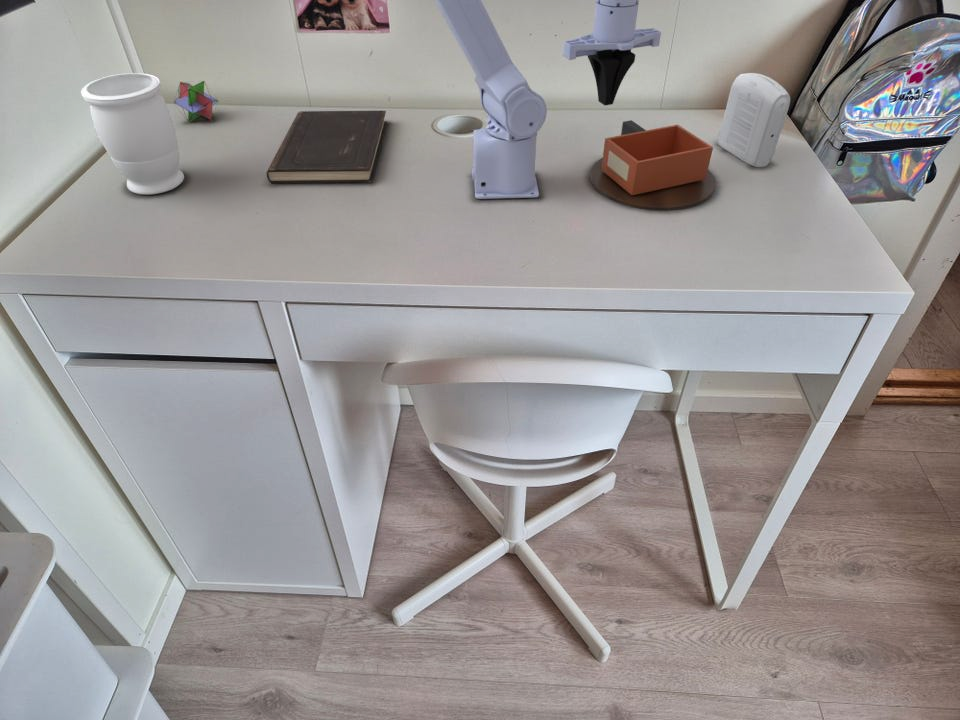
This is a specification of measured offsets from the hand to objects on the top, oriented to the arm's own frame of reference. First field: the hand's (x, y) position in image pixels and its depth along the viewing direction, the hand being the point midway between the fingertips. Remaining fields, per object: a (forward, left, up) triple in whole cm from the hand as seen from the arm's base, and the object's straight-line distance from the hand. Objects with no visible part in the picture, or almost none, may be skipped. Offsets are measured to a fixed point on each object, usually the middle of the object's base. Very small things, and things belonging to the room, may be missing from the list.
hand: (605, 102), depth 97 cm
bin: (+7, -3, -9) cm, 12 cm away
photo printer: (+25, +3, -11) cm, 27 cm away
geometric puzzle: (-69, +24, -11) cm, 74 cm away
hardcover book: (-43, +8, -11) cm, 45 cm away
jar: (-69, -2, -11) cm, 70 cm away
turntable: (+8, -5, -10) cm, 14 cm away
